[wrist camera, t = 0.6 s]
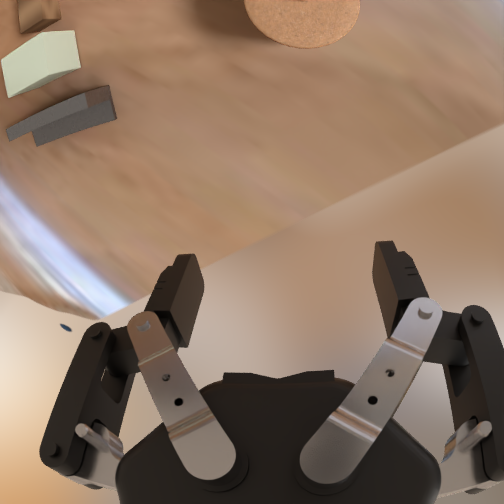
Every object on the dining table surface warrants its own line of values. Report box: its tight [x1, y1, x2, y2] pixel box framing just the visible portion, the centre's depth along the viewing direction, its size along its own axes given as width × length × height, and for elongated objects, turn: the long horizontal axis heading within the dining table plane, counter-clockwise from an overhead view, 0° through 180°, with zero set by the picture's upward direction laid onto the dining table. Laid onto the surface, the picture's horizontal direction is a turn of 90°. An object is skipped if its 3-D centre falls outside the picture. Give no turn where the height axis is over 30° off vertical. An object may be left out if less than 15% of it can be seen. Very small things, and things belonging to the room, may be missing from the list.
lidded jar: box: [244, 0, 360, 49], centre depth 23 cm, size 11×11×9 cm
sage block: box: [1, 30, 81, 98], centre depth 28 cm, size 6×8×7 cm
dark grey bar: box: [6, 85, 117, 147], centre depth 34 cm, size 5×16×6 cm, turn 98°
